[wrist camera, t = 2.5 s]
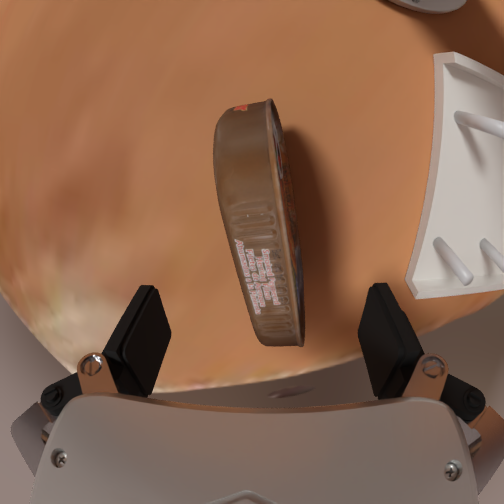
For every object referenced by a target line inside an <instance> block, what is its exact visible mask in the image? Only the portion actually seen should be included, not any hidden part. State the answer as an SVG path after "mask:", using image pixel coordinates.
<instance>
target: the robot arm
mask: <svg viewBox="0 0 504 504" xmlns="http://www.w3.org/2000/svg"><path fill="white" fill-rule="evenodd" d="M389 1H391V2H393V3H395V4H397V5H400V6H403V7H406V8H408V9H411V10H414V11H419V12H424V13H430V14H442V13H447V12H451V11H454V10H457V9H459V8H460V7H461V6H463V5H464V4H465V3H466V1H467V0H389ZM358 338H359V342H360V345H361V348H362V352H363V355H364V359H365V363H366V366H367V369H368V373H369V377H370V381H371V385H372V389H373V393H374V396H375V397H377V396H378V400H375V401H368V402H360V403H352V404H343V405H332V406H321V407H303V408H235V407H218V406H206V405H195V404H186V403H177V402H171V401H164V400H157V399H151V398H147V397H148V395H151V393H152V391H153V388H154V385H155V382H156V379H157V376H158V373H159V370H160V367H161V364H162V361H163V358H164V356H165V353H166V350H167V347H168V344H169V341H170V339H171V329H170V326H169V323H168V320H167V317H166V314H165V311H164V308H163V305H162V301H161V298H160V295H159V291H158V289H155V287H154V286H152V285H141V286H140V287H139V289H138V290H137V292H136V294H135V295H134V297H133V299H132V300H131V302H130V304H129V305H128V307H127V309H126V311H125V312H124V314H123V315H122V317H121V319H120V321H119V323H118V324H117V326H116V328H115V330H114V332H113V333H112V335H111V337H110V339H109V341H108V343H107V344H106V346H105V348H104V350H103V352H102V354H100V353H90V354H87V355H85V356H84V357H83V358H82V359H81V360H80V361H79V363H78V365H77V372H76V373H74V374H72V375H70V376H68V377H66V378H64V379H62V380H60V381H58V382H56V383H54V384H51V385H50V386H48V387H47V388H45V390H44V391H43V393H42V395H41V402H40V403H38V402H36V403H34V404H33V405H32V406H31V407H30V408H29V409H27V410H26V411H25V412H24V413H23V414H22V415H21V416H19V417H18V418H17V419H16V420H15V421H14V422H13V424H12V426H11V434H12V437H13V439H14V441H15V443H16V445H17V447H18V449H19V451H20V452H21V454H22V456H23V458H24V459H25V461H26V463H27V465H28V466H29V468H30V470H31V471H32V473H33V475H34V476H35V481H34V484H33V488H32V493H31V498H30V503H29V504H479V501H478V495H479V494H480V492H481V491H482V490H483V488H484V487H485V486H486V484H487V483H488V481H489V480H490V479H491V477H492V476H493V474H494V473H495V471H496V470H497V468H498V467H499V466H500V464H501V462H502V461H503V459H504V419H503V418H502V417H501V416H500V415H499V414H498V413H497V412H496V411H495V410H494V409H492V408H491V407H490V406H489V407H488V408H487V407H486V406H485V397H484V395H483V393H482V392H481V391H480V390H478V389H477V388H475V387H473V386H471V385H469V384H468V383H466V382H463V381H462V380H460V379H458V378H456V377H454V376H452V375H450V374H448V365H447V363H446V361H445V360H444V359H443V358H442V357H441V356H439V355H437V354H432V353H430V354H429V353H428V354H424V352H423V349H422V347H421V345H420V343H419V341H418V338H417V336H416V334H415V332H414V330H413V328H412V326H411V324H410V322H409V320H408V318H407V316H406V314H405V313H404V311H402V310H401V308H400V307H399V305H398V303H397V301H396V299H395V297H394V295H393V293H392V291H391V289H390V288H389V286H388V284H387V283H374V284H373V287H370V288H369V291H368V295H367V299H366V303H365V307H364V311H363V314H362V318H361V322H360V325H359V329H358Z"/></svg>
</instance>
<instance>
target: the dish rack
mask: <svg viewBox="0 0 504 504" xmlns="http://www.w3.org/2000/svg"><path fill="white" fill-rule="evenodd" d="M434 73H435V109H434V129H433V142H432V152H431V161H430V168H429V176H428V182H427V188H426V194H425V200H424V205H423V210H422V215H421V220H420V224H419V228H418V233H417V237H416V241H415V245H414V249H413V252H412V256H411V260H410V263H409V267H408V270H407V273H406V276H405V281H406V283H407V285H408V287H409V288H410V290H411V292H412V294H413V296H414V298H415V299H425V298H435V297H445V296H455V295H464V294H472V293H480V292H487V291H494V290H501V289H504V76H503V75H502V74H500V73H498V72H496V71H494V70H493V69H491V68H489V67H487V66H485V65H483V64H481V63H479V62H477V61H475V60H473V59H470V58H468V57H466V56H464V55H461V54H459V53H457V52H446V53H438V54H434Z"/></svg>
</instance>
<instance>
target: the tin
mask: <svg viewBox="0 0 504 504" xmlns="http://www.w3.org/2000/svg"><path fill="white" fill-rule="evenodd" d="M213 165H214V175H215V183H216V190H217V196H218V202H219V206H220V211H221V215H222V219H223V223H224V226H225V230H226V234H227V238H228V242H229V246H230V249H231V253H232V256H233V260H234V264H235V267H236V271H237V275H238V278H239V281H240V285H241V289H242V292H243V295H244V299H245V302H246V305H247V309H248V312H249V315H250V319H251V322H252V325H253V329H254V331H255V334H256V336H257V338H258V340H259V341H260V342H261V344H263V345H265V346H299V347H303V346H304V340H305V339H304V338H305V311H304V281H303V269H302V259H301V250H300V240H299V232H298V225H297V217H296V210H295V203H294V195H293V188H292V182H291V175H290V169H289V163H288V157H287V151H286V146H285V142H284V136H283V131H282V127H281V123H280V119H279V115H278V112H277V109H276V106H275V104H274V102H273V100H272V99H267V100H266V101H264V102H258V103H253V104H247V105H242V106H237V107H233V108H230V109H228V110H227V111H226V112H225V113H224V114H223V115H222V116H221V117H220V119H219V121H218V122H217V125H216V129H215V134H214V144H213Z"/></svg>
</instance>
